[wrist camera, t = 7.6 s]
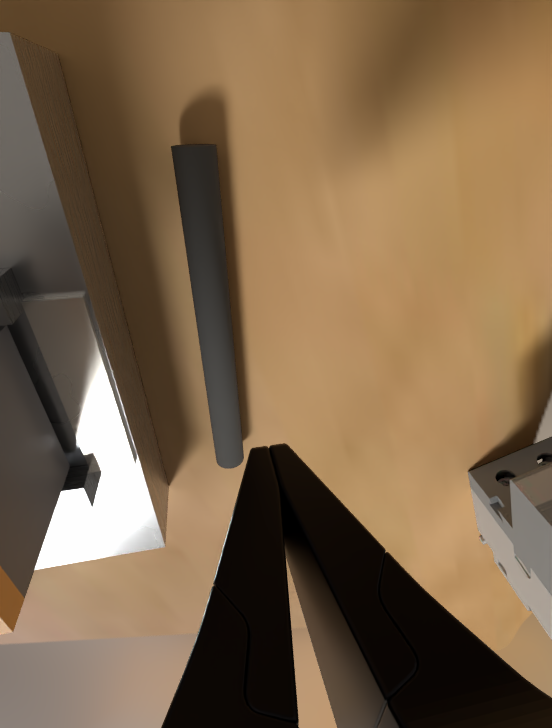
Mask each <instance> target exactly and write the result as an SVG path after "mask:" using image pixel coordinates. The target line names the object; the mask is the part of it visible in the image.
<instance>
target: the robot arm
mask: <svg viewBox="0 0 552 728" xmlns="http://www.w3.org/2000/svg"><path fill="white" fill-rule="evenodd" d="M385 551H386V550H385V548H384V547H383V546H382V545H381V544H380V543H379V542H378V541H377V540H376V539H375V538H374V537H373V536H372V534H371V533H370V532H369V531H368V530H367V529H366V528H365V527H364V526H363V525H362V524H361V523H360V522H359V521H358V520H357V518H356V517H355V516H354V515H353V514H352V513H351V512H350V511H349V510H348V509H347V508H346V507H345V506H344V505H343V503H342V502H341V501H340V500H339V499H338V498H337V497H336V496H335V495H334V494H333V493H332V492H331V491H330V490H329V489H328V487H327V486H326V485H325V484H324V483H323V482H322V481H321V480H320V479H319V478H318V477H317V476H316V475H315V474H314V472H313V471H312V470H311V469H310V468H309V467H308V466H307V465H306V464H305V463H304V462H303V461H302V460H301V459H300V458H299V456H298V455H297V454H296V453H295V452H294V451H293V450H292V449H291V448H290V447H289V446H288V445H287V444H285V443H283V444H276V445H271V446H270V447H269V448H268V447H267V446H263V447H256V448H252V449H251V450H250V453H249V457H248V460H247V464H246V468H245V471H244V475H243V478H242V482H241V486H240V489H239V493H238V496H237V500H236V503H235V507H234V511H233V514H232V518H231V521H230V525H229V529H228V532H227V536H226V539H225V543H224V546H223V550H222V554H221V557H220V561H219V564H218V568H217V571H216V575H215V579H214V582H213V584H214V586H213V587H212V589H211V592H210V596H209V599H208V603H207V606H206V610H205V613H204V616H203V619H202V622H201V626H200V629H199V632H198V635H197V638H196V641H195V644H194V646H193V649H192V652H191V654H190V657H189V660H188V662H187V665H186V668H185V671H184V673H183V675H182V678H181V680H180V683H179V685H178V688H177V690H176V693H175V695H174V698H173V700H172V703H171V705H170V708H169V710H168V712H167V715H166V717H165V720H164V722H163V725H162V727H161V728H299V727H298V709H297V708H298V707H297V695H296V683H295V669H294V658H293V644H292V631H291V619H290V606H289V593H288V581H287V568H286V558H287V562H288V565H289V568H290V572H291V575H292V578H293V582H294V585H295V588H296V592H297V595H298V598H299V602H300V605H301V608H302V612H303V615H304V618H305V622H306V625H307V628H308V632H309V634H310V638H311V642H312V645H313V648H314V652H315V655H316V658H317V661H318V665H319V668H320V671H321V675H322V678H323V681H324V685H325V688H326V691H327V695H328V698H329V701H330V705H331V708H332V711H333V714H334V718H335V721H336V725H337V728H552V698H551V697H550V696H548V695H547V694H545V693H544V692H542V691H541V690H539V689H538V688H537V687H535V686H534V685H533V684H531V683H530V682H529V681H527V680H526V679H525V678H523V677H522V676H521V675H520V674H519V673H518V672H516V671H515V670H514V669H513V668H512V667H511V666H510V665H508V664H507V663H506V662H505V661H504V660H503V659H502V658H500V657H499V656H498V655H497V654H496V653H495V652H494V651H493V650H491V649H490V648H489V647H488V646H487V645H486V644H485V643H483V642H482V641H481V640H480V639H479V638H478V637H477V636H476V635H474V634H473V633H472V632H471V631H470V630H469V629H468V628H466V627H465V626H464V625H463V624H462V623H461V622H460V621H459V620H457V619H456V618H455V617H454V616H453V615H452V614H451V613H449V612H448V611H447V610H446V609H445V608H444V607H443V606H442V605H441V604H440V603H438V602H437V601H436V600H435V599H434V598H433V597H432V596H431V595H430V594H429V593H428V592H427V591H425V590H424V589H423V588H422V587H421V586H420V585H419V584H418V583H417V582H416V581H415V580H414V579H413V578H412V577H411V576H410V575H409V574H408V573H407V572H406V571H405V570H404V568H403V567H402V566H401V565H400V564H399V563H398V562H397V561H396V560H395V559H394V558H393V557H392V556H391V555H390V553H388V552H386V553H385Z"/></svg>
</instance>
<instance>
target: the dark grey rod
mask: <svg viewBox="0 0 552 728" xmlns="http://www.w3.org/2000/svg"><path fill="white" fill-rule="evenodd" d="M171 149H172V156H173V163H174V170H175V177H176V184H177V191H178V198H179V205H180V212H181V218H182V225H183V232H184V239H185V246H186V253H187V260H188V267H189V274H190V281H191V288H192V294H193V301H194V308H195V315H196V322H197V329H198V336H199V343H200V350H201V357H202V364H203V371H204V377H205V384H206V391H207V398H208V405H209V412H210V419H211V426H212V433H213V440H214V447H215V454H216V460H217V463H218V465H219V466H221V467H223V468H234V467H237V466H239V465H240V464H241V463H242V461H243V459H244V454H243V443H242V432H241V420H240V409H239V398H238V386H237V375H236V364H235V352H234V341H233V330H232V318H231V307H230V296H229V285H228V273H227V262H226V251H225V239H224V228H223V217H222V205H221V194H220V183H219V171H218V160H217V149H216V145H214V144H188V145H175V146H171Z"/></svg>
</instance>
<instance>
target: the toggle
mask: <svg viewBox="0 0 552 728" xmlns="http://www.w3.org/2000/svg"><path fill="white" fill-rule="evenodd" d="M69 468H70V465H69V463H68V461H67V458H66V456H65V454H64V452H63V450H62V447H61V445H60V443H59V441H58V438H57V436H56V434H55V432H54V430H53V427H52V425H51V423H50V421H49V418H48V416H47V414H46V412H45V409H44V407H43V405H42V403H41V401H40V398H39V396H38V394H37V392H36V389H35V387H34V385H33V383H32V380H31V378H30V376H29V374H28V372H27V369H26V367H25V365H24V363H23V360H22V358H21V356H20V354H19V351H18V349H17V347H16V345H15V343H14V340H13V338H12V336H11V334H10V331H9V329H8V327H7V325H5V326H0V635H2V634H7V633H12V632H13V630H14V628H15V625H16V622H17V619H18V616H19V613H20V610H21V607H22V604H23V601H24V599H25V596H26V593H27V590H28V587H29V584H30V581H31V578H32V575H33V572H34V570H35V567H36V564H37V561H38V558H39V555H40V552H41V549H42V546H43V543H44V540H45V538H46V535H47V532H48V529H49V526H50V523H51V520H52V517H53V514H54V511H55V509H56V506H57V503H58V500H59V497H60V494H61V491H62V488H63V485H64V482H65V480H66V477H67V474H68V471H69Z"/></svg>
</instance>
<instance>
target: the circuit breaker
mask: <svg viewBox="0 0 552 728" xmlns="http://www.w3.org/2000/svg"><path fill="white" fill-rule="evenodd" d="M540 459H543V460H542V462H541V463H539V464H538V463H537V460H540ZM504 474H505V478H502V479H500V480H498V482H497V480H496V477H499V476H501V475H504ZM468 475H469V481H470V487H471V492H472V498H473V504H474V510H475V515H476V521H477V527H478V531H479V532H480V533H481V535H482V536H479V538H480V541H481V542H482V544H483V545H484V544H486V543H487V544H488V545H489V547H490V548H491V549H492V551H493V555H494V561H495V563H496V564H497V566H498V567H499V569H500V570H501V572H502V573H503V575H504V576H505V578H506V579H507V581H508V582H509V584H510V585H511V587H512V588H513V589H514V591H515V592H516V594H517V595H518V597H519V598H520V600H521V601H522V603H523V604H524V606H525V607H526V609H527V610H528V611H531V610H532V612H533V613H534V615H535V616H536V618H537V619H538V621H539V622H540V624H541V625H542V627H543V628H544V629H545V631H546V632H547V634H548V635H549V637H550V638H551V640H552V437H550V438H547V439H545V440H543V441H540V442H538V443H535V444H533V445H531V446H528V447H526V448H523V449H521V450H519V451H516V452H514V453H511V454H509V455H507V456H504V457H502V458H500V459H497V460H495V461H492V462H490V463H488V464H485V465H483V466H480V467H478V468H476V469H473V470H471V471H469V472H468ZM514 475H515V476H514Z"/></svg>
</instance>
